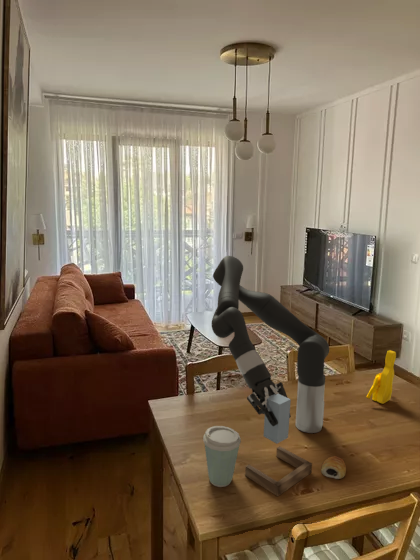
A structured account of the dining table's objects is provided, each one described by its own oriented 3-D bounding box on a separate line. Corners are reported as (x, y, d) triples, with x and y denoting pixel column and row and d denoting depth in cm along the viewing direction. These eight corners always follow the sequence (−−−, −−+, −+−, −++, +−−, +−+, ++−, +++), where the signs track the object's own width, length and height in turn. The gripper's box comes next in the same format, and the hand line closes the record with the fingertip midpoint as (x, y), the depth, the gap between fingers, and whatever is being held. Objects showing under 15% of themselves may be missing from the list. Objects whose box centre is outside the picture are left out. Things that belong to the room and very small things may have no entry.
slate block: (274, 430, 127) (277, 393, 125) (287, 437, 123) (290, 399, 121) (263, 436, 124) (265, 397, 121) (276, 443, 120) (279, 404, 118)
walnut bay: (279, 454, 135) (279, 446, 135) (311, 472, 126) (312, 463, 126) (245, 475, 124) (245, 466, 124) (277, 496, 116) (278, 486, 115)
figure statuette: (382, 391, 183) (387, 342, 179) (400, 398, 177) (406, 347, 174) (361, 403, 172) (365, 351, 168) (379, 410, 166) (384, 357, 162)
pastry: (326, 459, 134) (327, 448, 133) (348, 465, 131) (350, 454, 130) (319, 475, 125) (320, 463, 125) (343, 483, 122) (344, 471, 122)
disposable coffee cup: (228, 465, 129) (230, 420, 126) (246, 487, 119) (248, 438, 117) (196, 474, 124) (197, 427, 122) (212, 497, 115) (213, 446, 112)
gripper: (261, 368, 135) (289, 418, 128) (229, 380, 125) (257, 435, 119) (275, 357, 130) (305, 409, 123) (243, 368, 120) (273, 425, 114)
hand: (281, 421), depth 121 cm, fingers closed on slate block, 5 cm apart
